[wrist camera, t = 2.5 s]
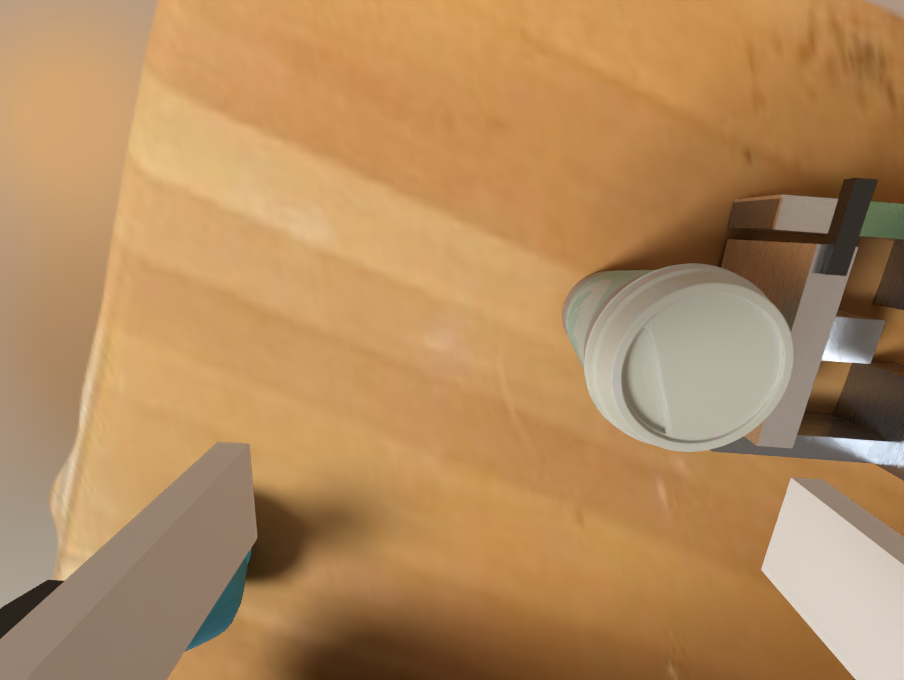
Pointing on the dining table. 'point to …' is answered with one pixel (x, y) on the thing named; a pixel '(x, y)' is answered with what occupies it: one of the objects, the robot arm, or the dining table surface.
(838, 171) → the dining table surface
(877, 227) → the gauge base
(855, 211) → the grey rectangular block
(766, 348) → the coffee cup
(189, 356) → the dining table surface
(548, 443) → the dining table surface
